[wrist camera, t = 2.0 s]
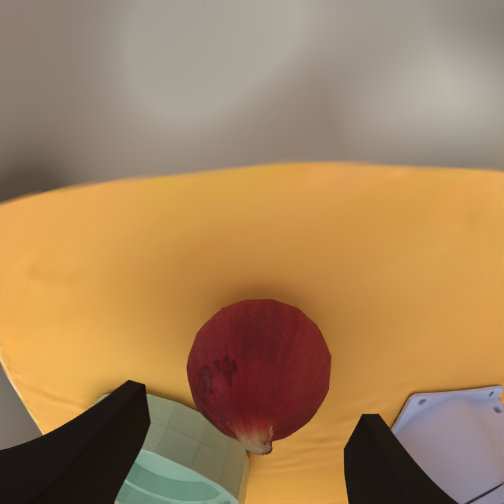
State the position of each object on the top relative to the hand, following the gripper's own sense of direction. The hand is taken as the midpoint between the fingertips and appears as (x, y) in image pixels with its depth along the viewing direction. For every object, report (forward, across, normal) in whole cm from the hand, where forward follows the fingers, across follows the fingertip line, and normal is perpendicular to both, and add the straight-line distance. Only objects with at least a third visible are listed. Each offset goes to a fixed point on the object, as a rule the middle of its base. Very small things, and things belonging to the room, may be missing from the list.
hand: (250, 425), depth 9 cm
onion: (+7, 0, 0) cm, 7 cm away
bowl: (+7, +6, +13) cm, 16 cm away
